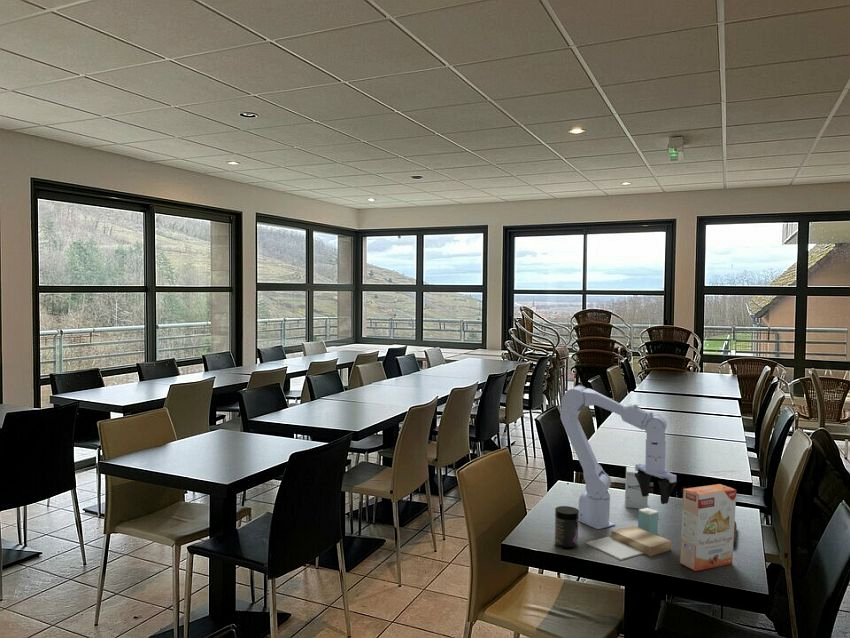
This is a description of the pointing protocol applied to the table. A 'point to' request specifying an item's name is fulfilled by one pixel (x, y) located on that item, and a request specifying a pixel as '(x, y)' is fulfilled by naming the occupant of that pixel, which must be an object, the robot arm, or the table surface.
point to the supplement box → (633, 491)
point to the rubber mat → (614, 548)
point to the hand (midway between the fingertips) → (654, 499)
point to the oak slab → (641, 540)
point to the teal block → (648, 520)
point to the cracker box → (707, 526)
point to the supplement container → (566, 527)
